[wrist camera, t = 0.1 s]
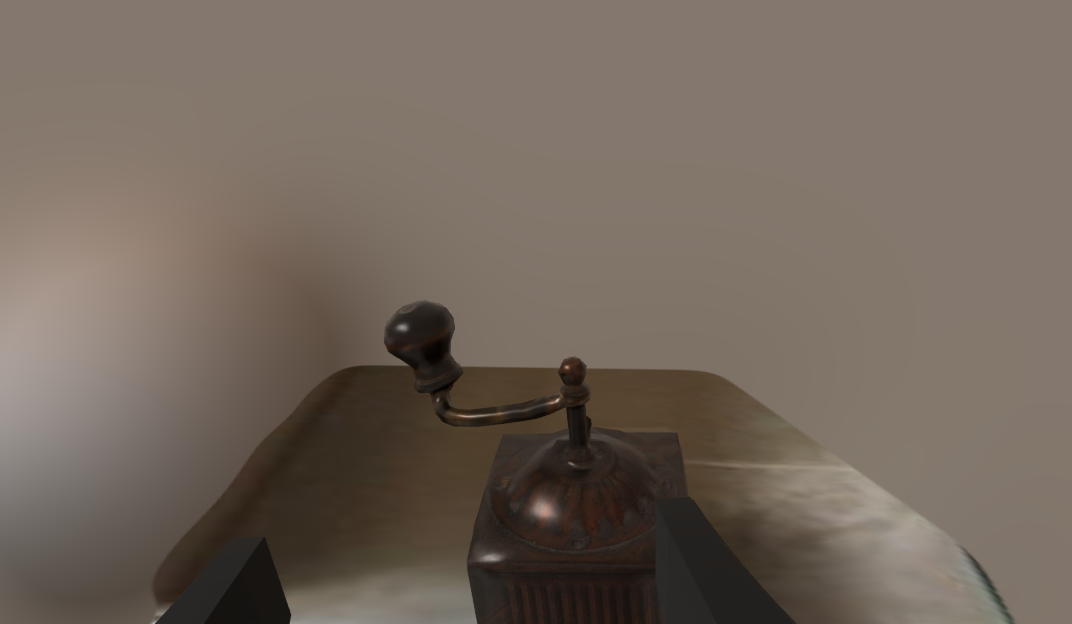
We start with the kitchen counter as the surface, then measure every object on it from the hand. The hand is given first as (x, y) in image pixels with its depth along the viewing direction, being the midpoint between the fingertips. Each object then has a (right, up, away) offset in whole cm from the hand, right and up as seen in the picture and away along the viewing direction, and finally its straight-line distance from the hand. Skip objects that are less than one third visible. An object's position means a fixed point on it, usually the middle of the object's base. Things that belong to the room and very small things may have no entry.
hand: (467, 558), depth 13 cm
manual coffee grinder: (+2, -13, +26) cm, 29 cm away
